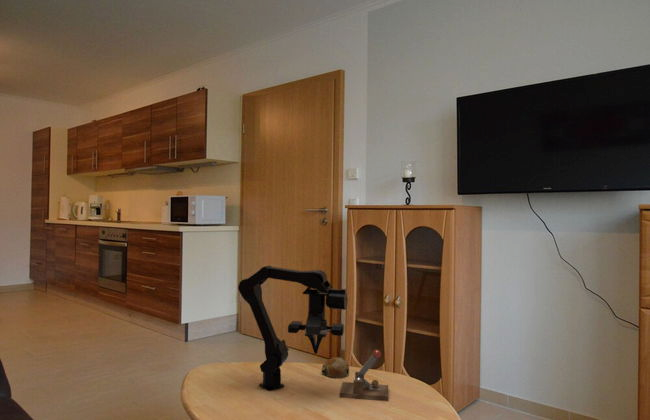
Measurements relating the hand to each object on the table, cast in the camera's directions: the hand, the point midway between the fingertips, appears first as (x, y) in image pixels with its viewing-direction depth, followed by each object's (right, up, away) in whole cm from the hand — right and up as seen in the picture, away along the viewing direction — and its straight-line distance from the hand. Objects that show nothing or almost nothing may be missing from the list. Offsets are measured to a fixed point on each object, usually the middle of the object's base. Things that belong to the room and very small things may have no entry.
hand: (315, 353), depth 156 cm
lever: (+15, -10, 0) cm, 18 cm away
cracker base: (+17, -13, -1) cm, 21 cm away
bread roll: (+7, -14, +18) cm, 23 cm away
